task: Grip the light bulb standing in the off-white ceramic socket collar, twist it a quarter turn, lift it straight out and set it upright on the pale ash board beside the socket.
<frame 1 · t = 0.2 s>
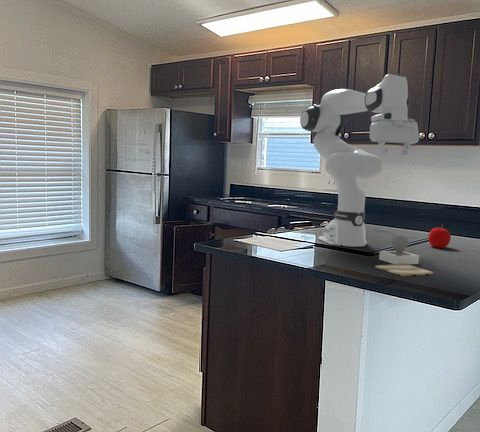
hand: (394, 154, 179), 38 cm above the countertop, tool pointing down, fingers open, 8 cm apart
socket: (398, 261, 174), on the countertop
light bulb: (398, 262, 174), resting in socket
board: (403, 270, 159), on the countertop
fruit: (438, 247, 208), on the countertop
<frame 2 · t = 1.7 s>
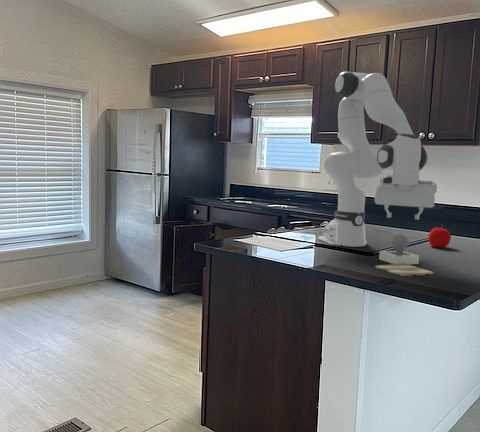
hand: (402, 218, 171), 16 cm above the countertop, tool pointing down, fingers open, 8 cm apart
nothing on the countertop moved.
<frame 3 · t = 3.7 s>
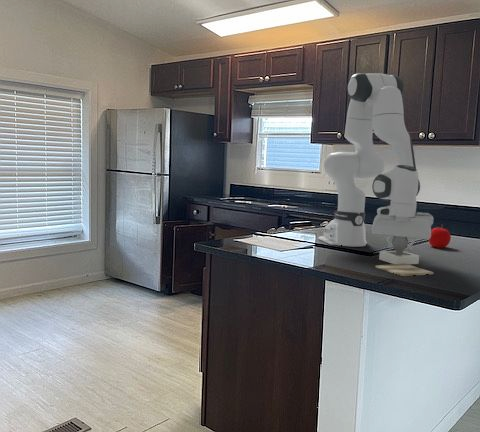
hand: (399, 249, 173), 5 cm above the countertop, tool pointing down, fingers closed on light bulb, 5 cm apart
light bulb: (398, 262, 174), resting in socket, touching gripper
everything else where it was.
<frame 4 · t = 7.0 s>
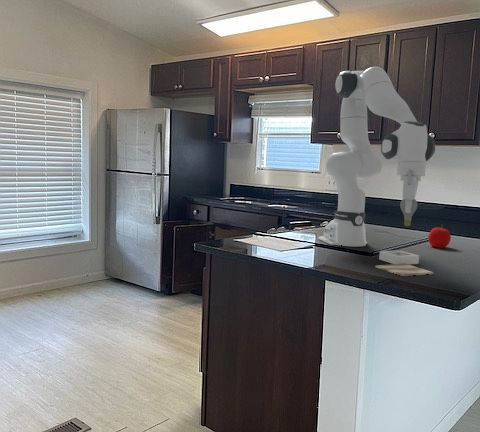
hand: (408, 212, 161), 19 cm above the countertop, tool pointing down, fingers closed on light bulb, 5 cm apart
light bulb: (407, 227, 161), point 14 cm above the countertop, touching gripper
everything else where it was.
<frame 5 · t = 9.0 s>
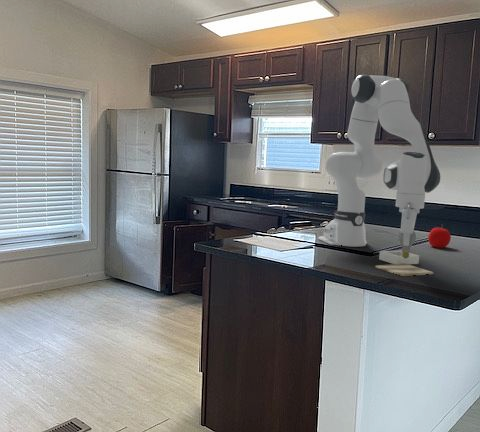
hand: (406, 243, 158), 9 cm above the countertop, tool pointing down, fingers closed on light bulb, 5 cm apart
light bulb: (405, 258, 159), point 4 cm above the countertop, touching gripper
everything else where it was.
when the fingers open (7 cm above the countertop, at t = 10.4 s): light bulb drops 1 cm, resting on board.
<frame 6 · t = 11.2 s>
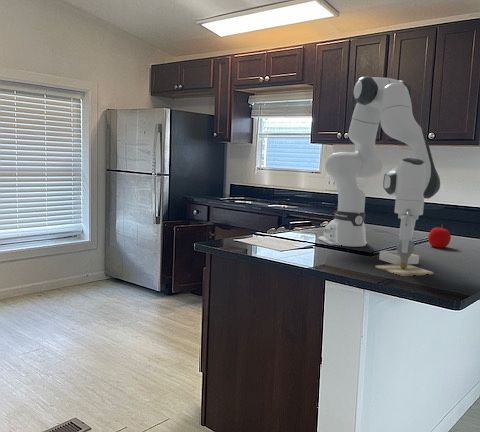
hand: (405, 250, 159), 7 cm above the countertop, tool pointing down, fingers open, 8 cm apart
light bulb: (403, 269, 159), resting on board
everything else where it was.
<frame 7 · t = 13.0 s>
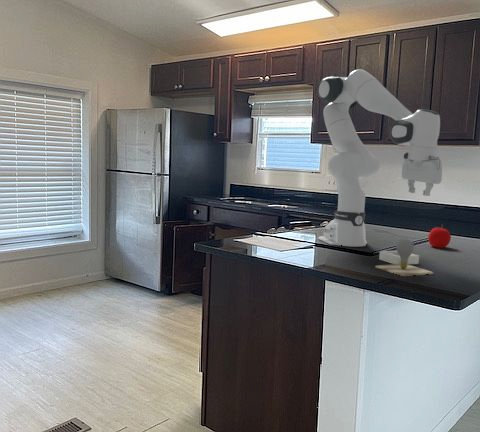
hand: (418, 194, 173), 25 cm above the countertop, tool pointing down, fingers open, 8 cm apart
nothing on the countertop moved.
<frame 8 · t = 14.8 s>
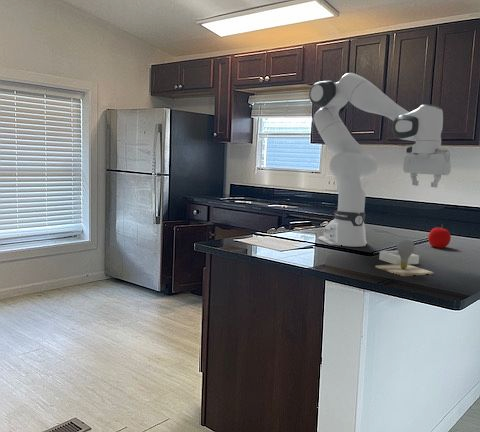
hand: (424, 186, 179), 27 cm above the countertop, tool pointing down, fingers open, 8 cm apart
nothing on the countertop moved.
at the end: light bulb inside the target area on the board (0.2 cm from its centre), point 0.4 cm above the board's base; light bulb tilted 0°; the gripper is holding nothing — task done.
